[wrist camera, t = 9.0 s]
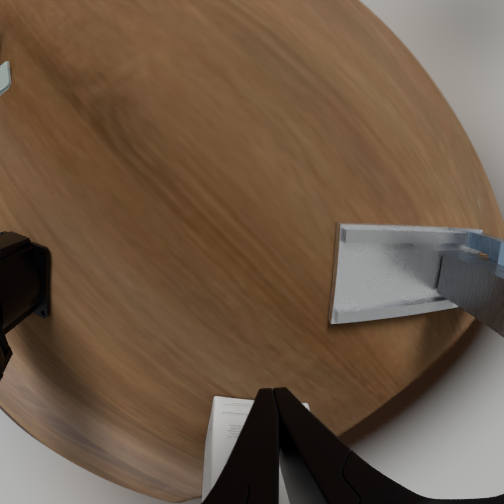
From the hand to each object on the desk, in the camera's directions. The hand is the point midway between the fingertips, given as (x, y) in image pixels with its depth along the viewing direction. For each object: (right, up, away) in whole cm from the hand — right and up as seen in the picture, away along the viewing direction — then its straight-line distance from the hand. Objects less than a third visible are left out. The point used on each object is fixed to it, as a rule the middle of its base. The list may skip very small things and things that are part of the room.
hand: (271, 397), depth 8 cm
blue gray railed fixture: (+13, +3, +12) cm, 18 cm away
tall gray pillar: (+19, +3, +12) cm, 22 cm away
